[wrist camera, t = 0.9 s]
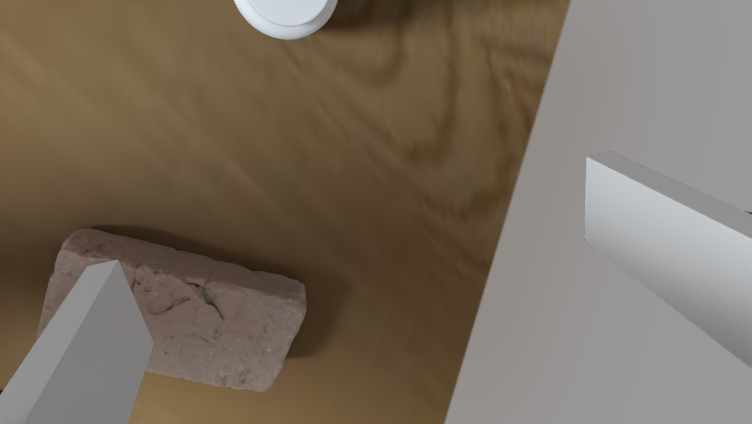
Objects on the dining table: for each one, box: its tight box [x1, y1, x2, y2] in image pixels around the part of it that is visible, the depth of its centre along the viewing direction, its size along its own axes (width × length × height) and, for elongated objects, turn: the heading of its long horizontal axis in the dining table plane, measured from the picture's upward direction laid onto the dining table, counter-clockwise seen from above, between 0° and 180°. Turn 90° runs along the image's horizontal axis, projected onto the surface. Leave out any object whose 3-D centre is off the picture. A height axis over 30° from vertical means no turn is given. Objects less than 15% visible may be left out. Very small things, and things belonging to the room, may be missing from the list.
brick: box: [36, 228, 307, 392], centre depth 35 cm, size 17×8×5 cm, turn 67°
